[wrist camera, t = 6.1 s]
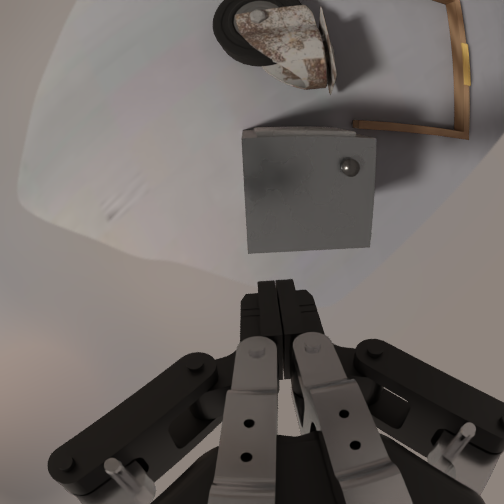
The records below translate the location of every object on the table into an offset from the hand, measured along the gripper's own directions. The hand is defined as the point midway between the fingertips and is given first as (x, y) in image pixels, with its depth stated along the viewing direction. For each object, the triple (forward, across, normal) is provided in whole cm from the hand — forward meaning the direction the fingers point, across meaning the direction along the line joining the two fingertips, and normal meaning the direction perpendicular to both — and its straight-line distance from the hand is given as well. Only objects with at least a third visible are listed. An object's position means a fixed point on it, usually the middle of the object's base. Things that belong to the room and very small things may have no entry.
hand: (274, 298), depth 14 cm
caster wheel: (+21, -2, -14) cm, 25 cm away
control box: (+20, -3, -1) cm, 20 cm away
